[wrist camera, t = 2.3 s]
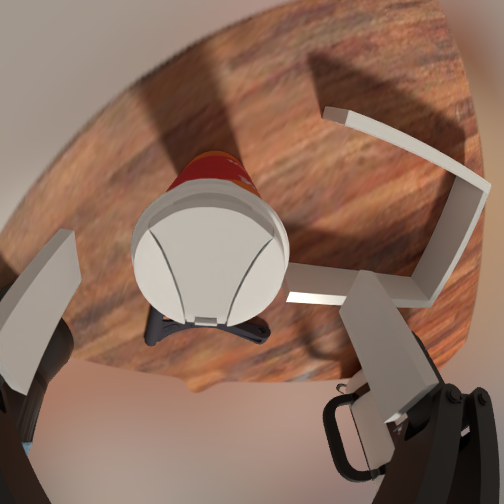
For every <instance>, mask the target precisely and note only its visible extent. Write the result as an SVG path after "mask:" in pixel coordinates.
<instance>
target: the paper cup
mask: <svg viewBox="0 0 504 504" xmlns="http://www.w3.org/2000/svg"><path fill="white" fill-rule="evenodd" d="M131 259H132V263H133V268H134V274H135V278H136V281H137V283H138V286H139V288H140V290H141V292H142V293H143V295H144V297H145V298H146V299H147V300H148V302H149V303H150V304H151V305H152V306H153V307H154V308H155V309H157V310H158V311H159V312H160V313H162V314H163V315H165V316H166V317H168V318H170V319H172V320H174V321H176V322H179V323H182V324H185V319H186V321H187V322H195V325H204V326H217V324H225V323H226V321H227V327H228V326H232V325H236V324H239V323H242V322H245V321H247V320H249V319H251V318H253V317H254V316H256V315H257V314H259V313H260V312H262V311H263V310H264V309H265V308H266V307H267V306H268V305H269V304H270V303H271V302H272V300H273V299H274V298H275V296H276V295H277V293H278V291H279V289H280V287H281V284H282V282H283V279H284V275H285V272H286V269H287V266H288V261H289V242H288V237H287V233H286V231H285V228H284V226H283V224H282V222H281V220H280V219H279V217H278V216H277V214H276V213H275V211H274V210H273V209H272V208H271V207H270V206H269V205H268V204H267V203H266V202H265V201H263V200H262V199H261V197H260V195H259V193H258V191H257V189H256V187H255V186H254V184H253V182H252V180H251V178H250V177H249V175H248V173H247V171H246V170H245V168H244V167H243V165H242V164H241V163H240V161H239V160H238V159H237V158H235V157H234V156H233V155H231V154H229V153H226V152H223V151H207V152H204V153H202V154H200V155H198V156H196V157H195V158H194V159H193V160H191V161H190V163H189V164H188V165H187V166H186V167H185V168H184V169H183V171H182V172H181V173H180V174H179V176H178V177H177V178H176V179H175V181H174V182H173V183H172V185H171V186H170V187H169V189H168V190H167V191H166V193H164V194H162V195H161V196H159V197H158V198H157V199H156V200H154V201H153V202H152V203H151V204H150V205H149V206H148V207H147V208H146V209H145V210H144V212H143V213H142V215H141V216H140V218H139V220H138V221H137V223H136V225H135V228H134V231H133V234H132V239H131Z"/></svg>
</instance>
